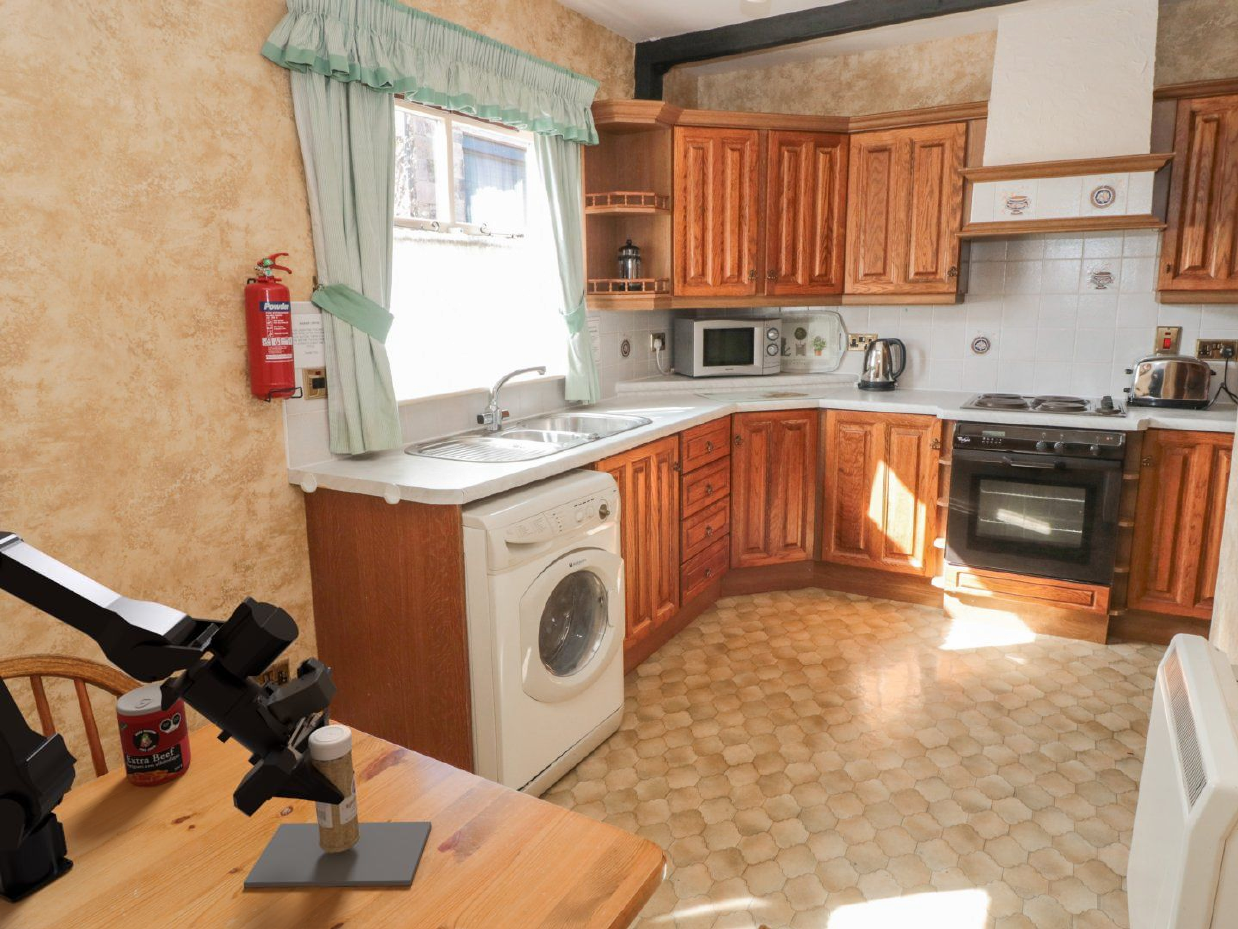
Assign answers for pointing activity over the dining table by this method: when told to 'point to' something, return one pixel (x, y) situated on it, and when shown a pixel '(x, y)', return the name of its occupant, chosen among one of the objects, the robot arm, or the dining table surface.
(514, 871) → the dining table surface
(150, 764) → the canned food
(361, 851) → the charcoal mat
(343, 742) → the spice jar
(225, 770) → the dining table surface
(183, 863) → the dining table surface
